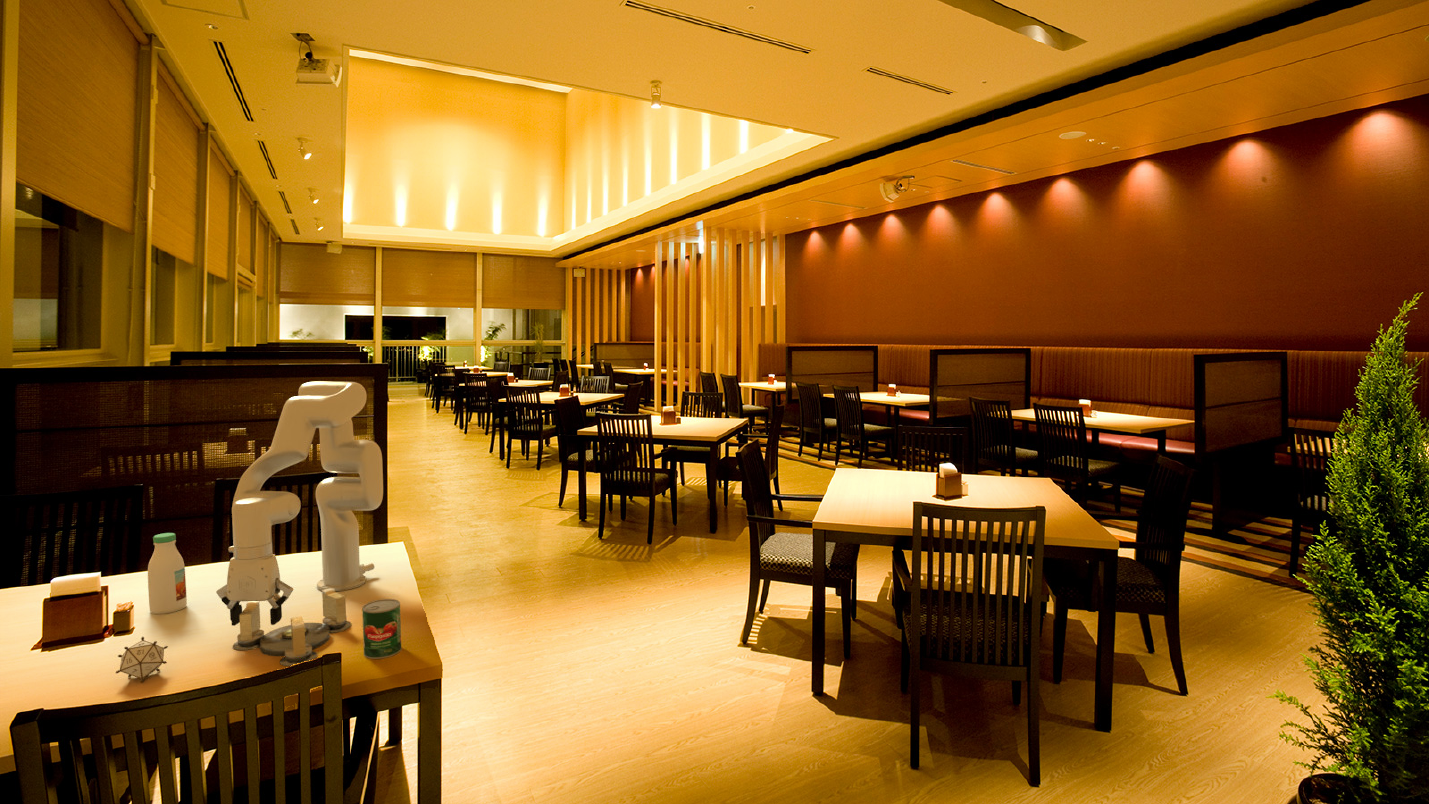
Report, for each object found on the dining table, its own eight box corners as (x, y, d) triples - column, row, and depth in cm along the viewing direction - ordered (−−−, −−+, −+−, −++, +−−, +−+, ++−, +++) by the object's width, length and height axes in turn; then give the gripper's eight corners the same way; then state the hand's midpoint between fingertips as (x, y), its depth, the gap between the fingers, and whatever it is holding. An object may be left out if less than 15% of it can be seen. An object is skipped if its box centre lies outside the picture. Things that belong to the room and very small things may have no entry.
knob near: (317, 625, 173) (315, 592, 172) (338, 618, 177) (337, 586, 176) (331, 632, 168) (329, 598, 168) (352, 625, 173) (351, 592, 172)
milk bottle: (166, 616, 178) (162, 539, 177) (141, 613, 180) (137, 537, 178) (194, 605, 186) (190, 531, 184) (170, 602, 187) (166, 529, 186)
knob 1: (242, 636, 165) (241, 602, 165) (268, 634, 167) (266, 600, 166) (233, 649, 159) (231, 613, 158) (259, 646, 160) (258, 610, 160)
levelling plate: (316, 613, 181) (315, 600, 181) (381, 631, 171) (381, 617, 170) (225, 646, 161) (224, 632, 161) (293, 669, 151) (292, 653, 150)
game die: (140, 691, 148) (141, 645, 152) (178, 676, 148) (178, 631, 152) (103, 689, 140) (104, 641, 144) (143, 674, 140) (144, 626, 144)
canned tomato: (394, 641, 165) (392, 596, 164) (407, 651, 160) (405, 605, 159) (358, 651, 160) (356, 604, 159) (370, 662, 154) (369, 614, 153)
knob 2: (313, 659, 154) (312, 622, 153) (286, 665, 151) (284, 628, 150) (310, 648, 160) (309, 612, 159) (284, 653, 157) (282, 617, 156)
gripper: (203, 556, 159) (207, 630, 161) (283, 555, 160) (286, 628, 162) (224, 546, 167) (227, 617, 168) (300, 546, 168) (302, 616, 169)
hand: (256, 622), depth 165 cm, fingers open, 8 cm apart
